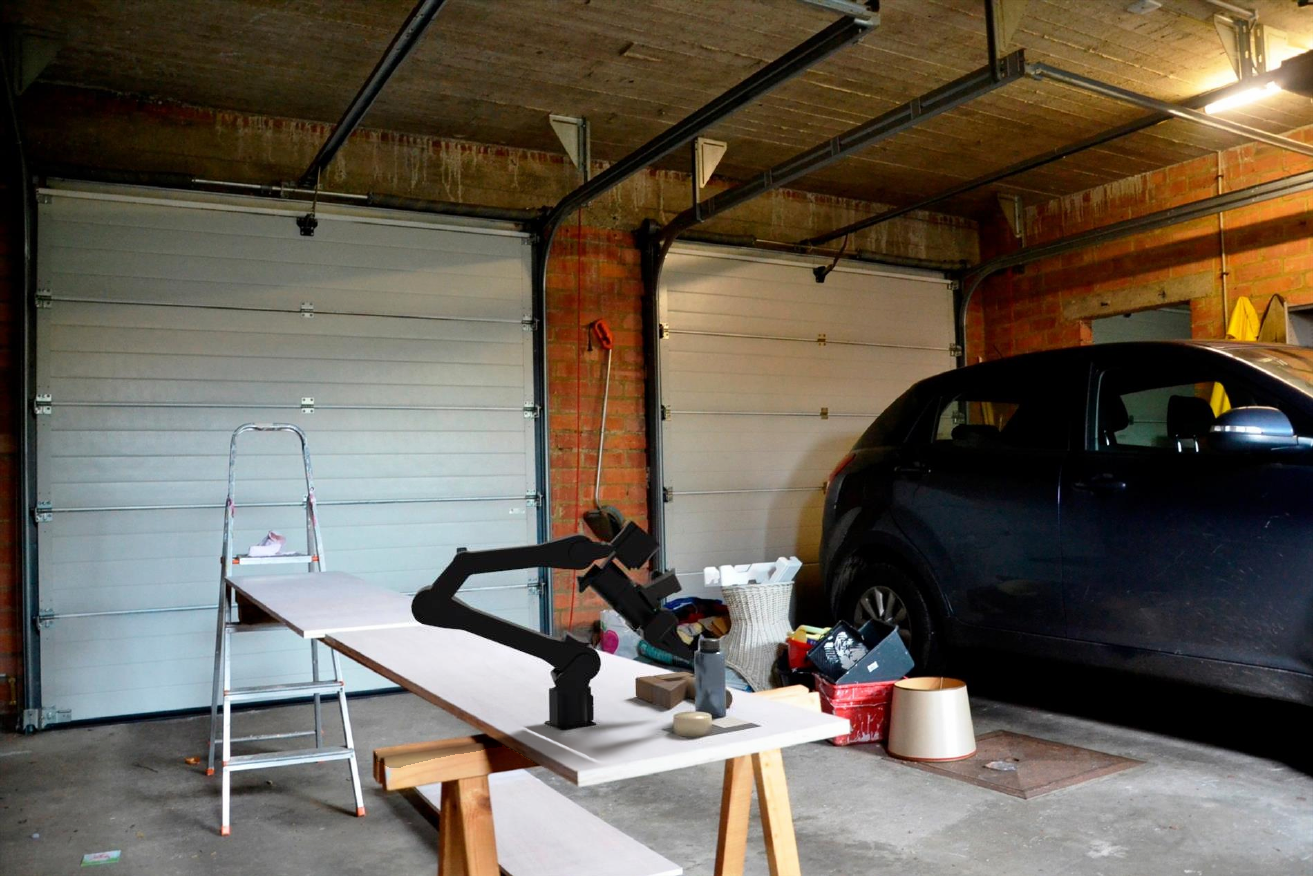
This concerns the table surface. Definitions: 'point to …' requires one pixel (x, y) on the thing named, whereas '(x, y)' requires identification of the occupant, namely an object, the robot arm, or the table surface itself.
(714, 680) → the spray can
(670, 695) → the wooden block
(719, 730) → the mat
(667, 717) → the table surface
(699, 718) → the beige round puck
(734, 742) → the table surface
